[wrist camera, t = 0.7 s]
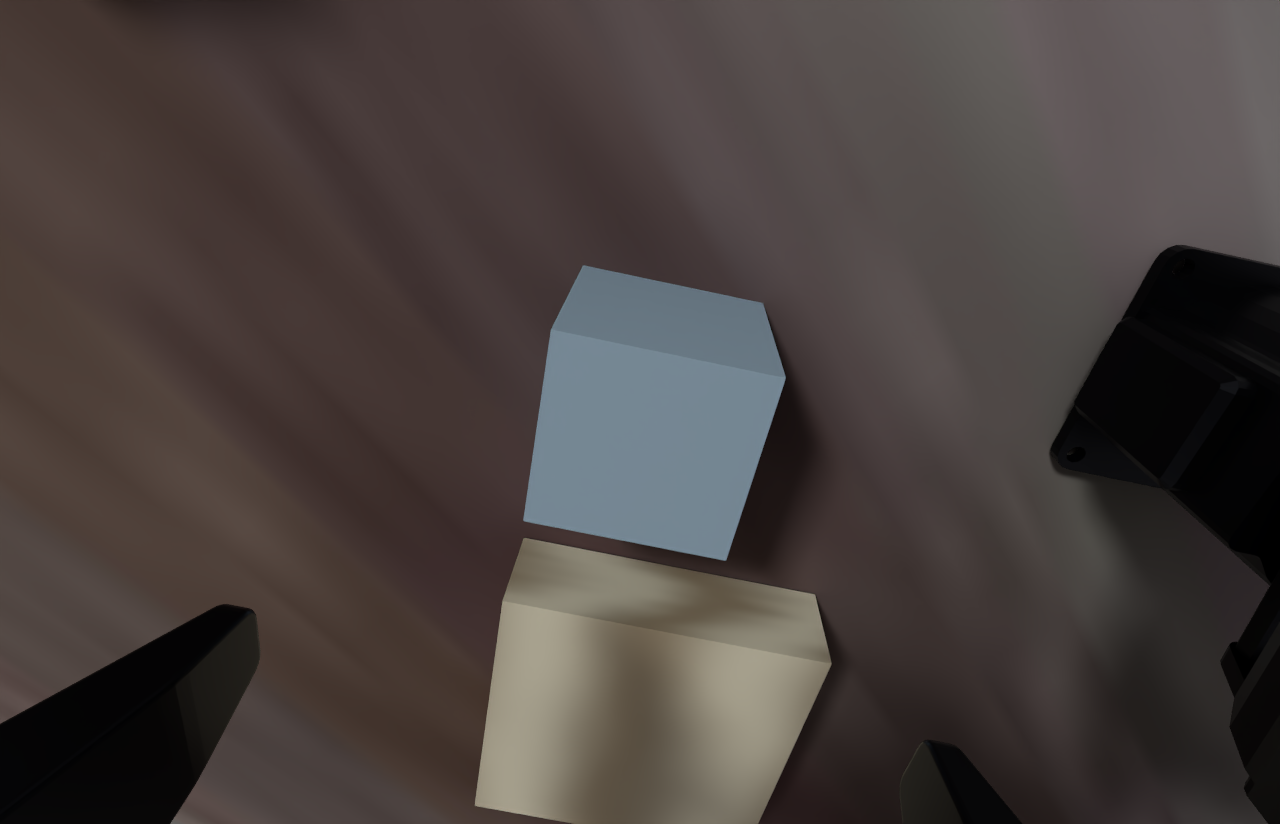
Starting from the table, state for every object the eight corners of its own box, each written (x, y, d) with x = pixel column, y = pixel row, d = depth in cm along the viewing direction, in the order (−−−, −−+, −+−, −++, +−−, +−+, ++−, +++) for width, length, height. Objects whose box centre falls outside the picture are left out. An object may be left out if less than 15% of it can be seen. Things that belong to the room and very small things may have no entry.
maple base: (814, 594, 23) (831, 663, 21) (738, 778, 28) (744, 854, 25) (523, 537, 23) (502, 600, 20) (495, 733, 27) (474, 805, 25)
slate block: (762, 302, 19) (786, 378, 14) (717, 454, 21) (725, 560, 17) (583, 264, 19) (551, 329, 14) (558, 422, 21) (523, 520, 16)
